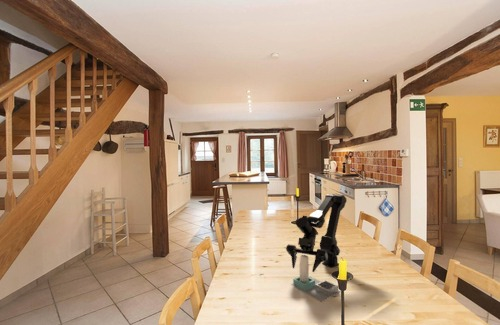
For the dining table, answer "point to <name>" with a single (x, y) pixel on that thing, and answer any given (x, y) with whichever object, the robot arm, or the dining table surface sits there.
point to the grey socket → (324, 291)
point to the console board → (315, 293)
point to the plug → (304, 269)
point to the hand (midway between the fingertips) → (302, 269)
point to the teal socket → (302, 285)
